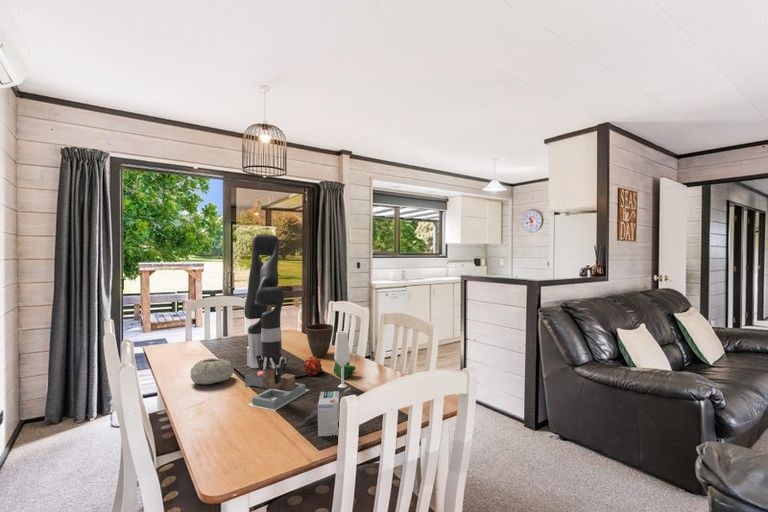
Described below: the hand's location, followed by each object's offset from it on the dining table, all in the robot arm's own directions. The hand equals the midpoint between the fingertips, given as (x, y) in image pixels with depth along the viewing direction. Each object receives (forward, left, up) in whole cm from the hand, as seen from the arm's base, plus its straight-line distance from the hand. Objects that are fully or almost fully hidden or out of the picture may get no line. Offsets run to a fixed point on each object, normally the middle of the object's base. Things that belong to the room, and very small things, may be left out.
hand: (272, 382), depth 153 cm
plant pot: (-19, +62, -9) cm, 65 cm away
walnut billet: (0, 0, -2) cm, 2 cm away
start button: (-18, +15, -7) cm, 24 cm away
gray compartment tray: (0, +5, -8) cm, 10 cm away
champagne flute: (+17, +25, -9) cm, 31 cm away
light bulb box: (+31, -8, -9) cm, 33 cm away
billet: (0, +9, -7) cm, 12 cm away
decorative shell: (-41, +9, -9) cm, 43 cm away
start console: (-18, +15, -8) cm, 25 cm away
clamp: (+9, +40, -9) cm, 42 cm away
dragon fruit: (-5, +35, -9) cm, 36 cm away
